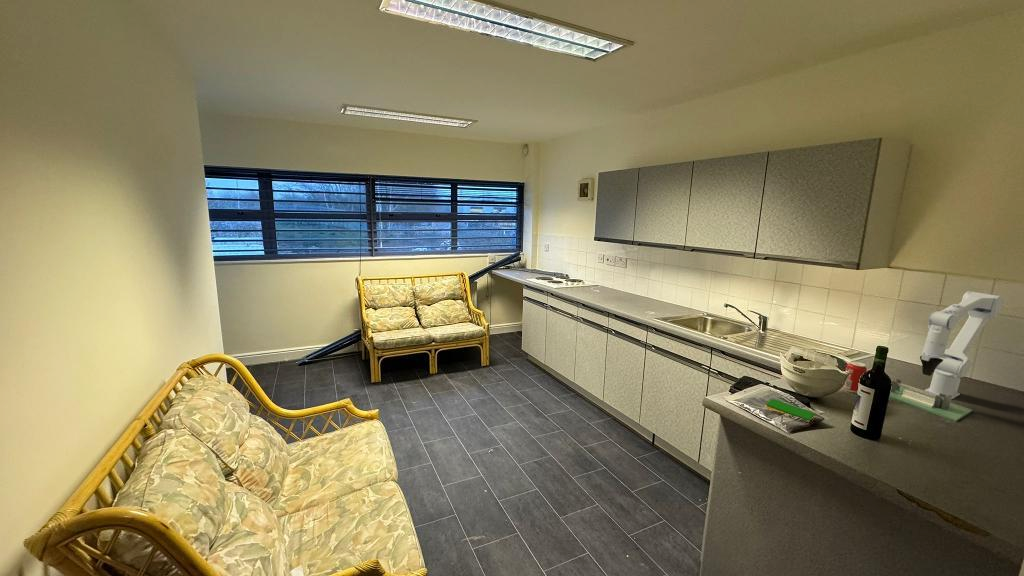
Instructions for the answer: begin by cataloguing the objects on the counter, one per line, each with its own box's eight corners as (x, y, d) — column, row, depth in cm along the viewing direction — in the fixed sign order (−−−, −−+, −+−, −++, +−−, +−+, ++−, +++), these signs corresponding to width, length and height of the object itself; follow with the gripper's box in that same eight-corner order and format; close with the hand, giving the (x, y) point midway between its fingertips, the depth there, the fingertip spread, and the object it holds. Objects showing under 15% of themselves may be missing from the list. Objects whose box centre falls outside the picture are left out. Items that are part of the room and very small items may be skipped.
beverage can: (865, 394, 162) (871, 367, 160) (849, 393, 163) (856, 366, 160) (852, 387, 169) (858, 360, 166) (837, 386, 169) (843, 360, 166)
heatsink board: (890, 385, 171) (893, 372, 170) (971, 411, 151) (975, 398, 149) (872, 392, 164) (876, 380, 163) (955, 421, 143) (959, 407, 142)
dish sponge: (808, 426, 139) (809, 419, 139) (764, 409, 149) (765, 403, 149) (814, 419, 144) (815, 413, 143) (771, 403, 154) (772, 398, 153)
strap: (896, 383, 164) (897, 381, 164) (945, 399, 152) (945, 397, 152) (893, 384, 163) (894, 382, 163) (942, 400, 151) (942, 398, 151)
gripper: (943, 348, 148) (933, 382, 151) (957, 343, 154) (947, 375, 157) (918, 342, 154) (908, 374, 157) (932, 337, 161) (923, 368, 164)
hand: (926, 374), depth 158 cm, fingers closed
